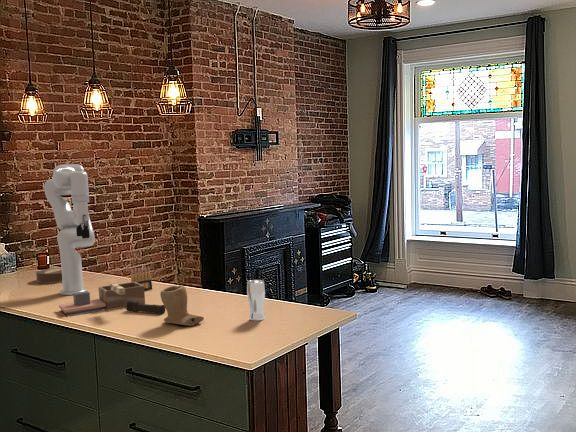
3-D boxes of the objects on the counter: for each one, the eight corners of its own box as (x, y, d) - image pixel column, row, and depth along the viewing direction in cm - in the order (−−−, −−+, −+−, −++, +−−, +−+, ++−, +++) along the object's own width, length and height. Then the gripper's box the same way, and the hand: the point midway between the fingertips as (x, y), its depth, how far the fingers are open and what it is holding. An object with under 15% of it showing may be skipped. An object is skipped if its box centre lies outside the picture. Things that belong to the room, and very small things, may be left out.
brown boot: (155, 324, 246) (153, 286, 244) (179, 317, 255) (177, 281, 254) (181, 330, 236) (179, 291, 235) (205, 323, 245) (203, 285, 244)
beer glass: (259, 322, 244) (257, 283, 242) (244, 320, 247) (243, 282, 246) (269, 317, 250) (267, 280, 248) (255, 315, 253) (253, 279, 252)
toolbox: (99, 304, 284) (98, 287, 283) (136, 298, 293) (135, 281, 292) (107, 309, 274) (105, 291, 273) (145, 303, 282) (144, 285, 282)
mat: (61, 309, 276) (61, 308, 276) (95, 304, 284) (95, 303, 284) (68, 316, 264) (68, 315, 264) (104, 310, 272) (104, 309, 272)
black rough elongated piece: (166, 313, 264) (165, 302, 264) (160, 315, 260) (160, 304, 260) (130, 310, 272) (130, 299, 272) (124, 312, 269) (124, 301, 268)
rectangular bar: (110, 289, 270) (110, 283, 269) (115, 288, 271) (114, 283, 270) (120, 295, 258) (120, 289, 258) (125, 294, 259) (124, 288, 259)
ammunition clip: (132, 293, 305) (130, 268, 304) (130, 292, 307) (129, 268, 305) (152, 289, 312) (151, 265, 311) (150, 289, 313) (149, 265, 312)
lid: (59, 309, 275) (57, 293, 274) (98, 303, 284) (97, 287, 283) (65, 315, 265) (64, 298, 264) (105, 308, 273) (104, 292, 273)
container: (53, 276, 359) (52, 265, 358) (82, 277, 353) (82, 266, 352) (28, 283, 340) (27, 272, 340) (58, 285, 334) (58, 274, 333)
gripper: (67, 199, 289) (70, 236, 290) (76, 200, 274) (79, 239, 276) (84, 197, 292) (86, 234, 294) (93, 199, 278) (96, 238, 279)
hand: (83, 237), depth 285 cm, fingers open, 9 cm apart
